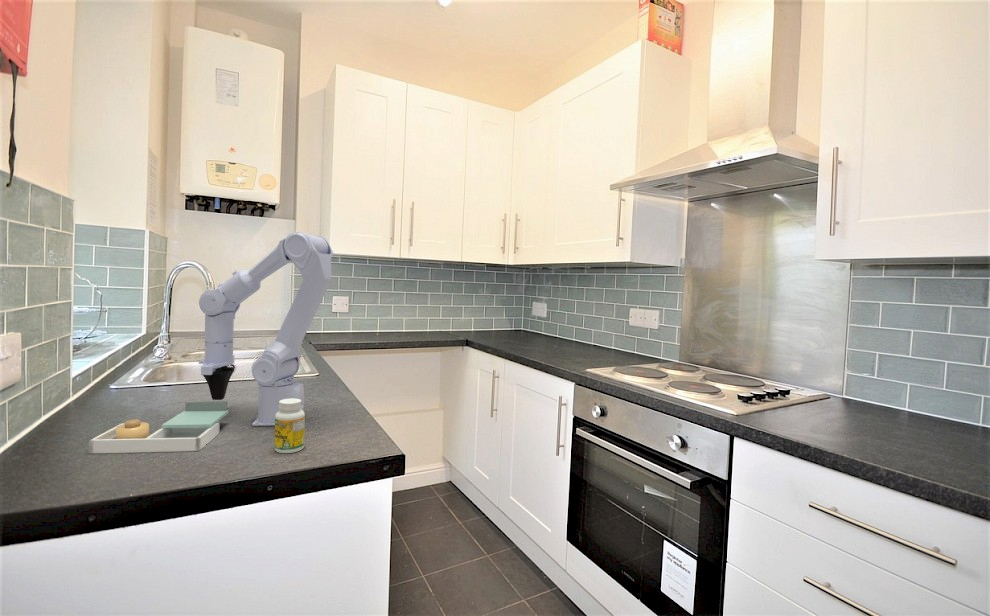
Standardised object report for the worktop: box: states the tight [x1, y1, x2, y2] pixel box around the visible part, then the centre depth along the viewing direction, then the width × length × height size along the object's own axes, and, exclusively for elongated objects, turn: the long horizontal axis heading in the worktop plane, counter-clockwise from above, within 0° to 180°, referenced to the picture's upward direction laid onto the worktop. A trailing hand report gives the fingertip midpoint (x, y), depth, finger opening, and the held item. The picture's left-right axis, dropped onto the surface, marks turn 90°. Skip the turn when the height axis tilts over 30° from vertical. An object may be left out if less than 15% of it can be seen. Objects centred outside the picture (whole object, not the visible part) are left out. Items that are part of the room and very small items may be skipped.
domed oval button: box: [115, 418, 150, 439], centre depth 89 cm, size 5×5×4 cm
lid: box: [161, 400, 230, 428], centre depth 97 cm, size 9×10×3 cm
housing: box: [88, 421, 221, 454], centre depth 90 cm, size 18×10×2 cm, turn 102°
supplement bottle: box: [274, 398, 306, 454], centre depth 90 cm, size 5×5×10 cm
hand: (218, 399), depth 108 cm, fingers closed
